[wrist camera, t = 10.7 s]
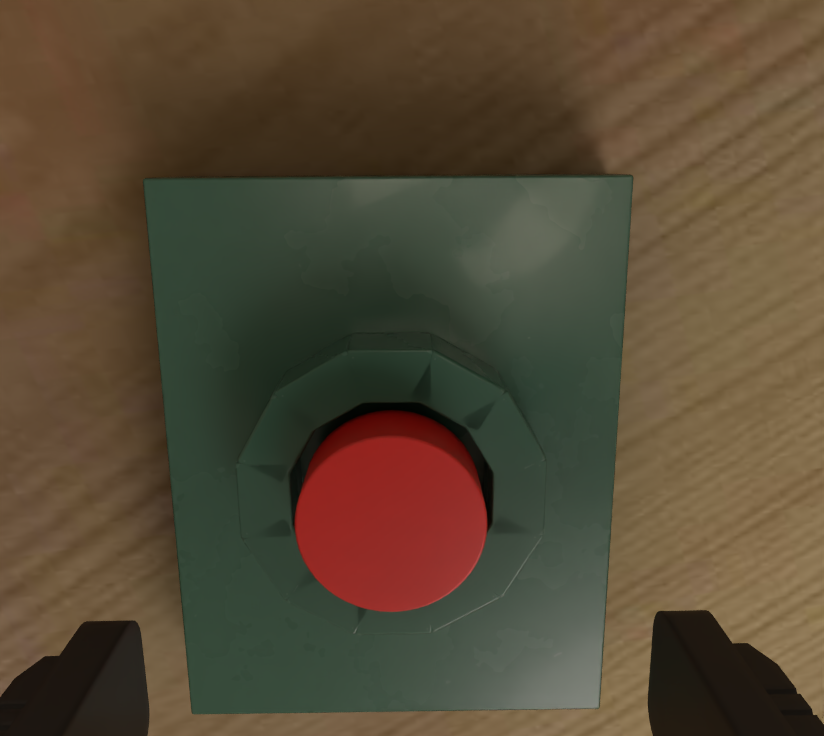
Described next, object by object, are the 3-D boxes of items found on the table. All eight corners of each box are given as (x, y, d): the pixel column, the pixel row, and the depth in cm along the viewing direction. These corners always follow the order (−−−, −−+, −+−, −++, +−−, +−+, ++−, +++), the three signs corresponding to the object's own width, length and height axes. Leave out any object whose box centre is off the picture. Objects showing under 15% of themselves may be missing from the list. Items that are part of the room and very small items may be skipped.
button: (301, 409, 17) (289, 437, 16) (480, 408, 17) (489, 434, 16) (308, 572, 18) (298, 614, 16) (478, 570, 18) (486, 612, 17)
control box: (170, 176, 19) (112, 179, 16) (609, 173, 19) (660, 175, 16) (210, 664, 23) (171, 765, 19) (581, 659, 23) (618, 759, 19)
